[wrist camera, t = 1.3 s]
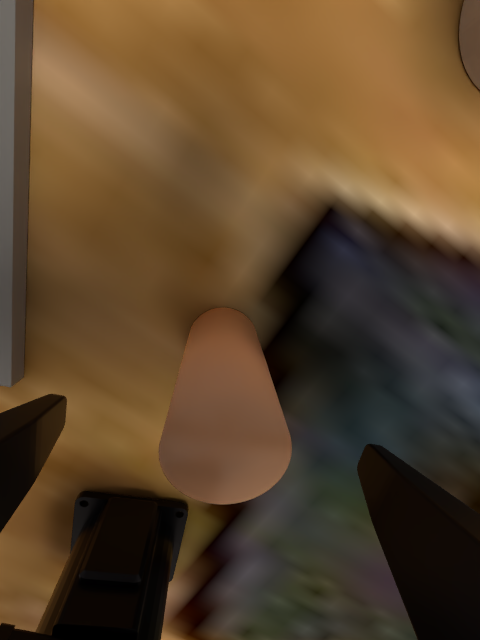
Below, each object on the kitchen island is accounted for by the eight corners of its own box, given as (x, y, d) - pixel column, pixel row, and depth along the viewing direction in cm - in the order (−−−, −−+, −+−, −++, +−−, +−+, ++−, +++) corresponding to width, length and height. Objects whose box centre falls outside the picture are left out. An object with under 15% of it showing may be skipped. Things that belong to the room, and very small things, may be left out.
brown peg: (248, 376, 16) (272, 511, 9) (183, 364, 16) (149, 496, 8) (264, 315, 15) (308, 407, 8) (195, 300, 15) (170, 384, 7)
